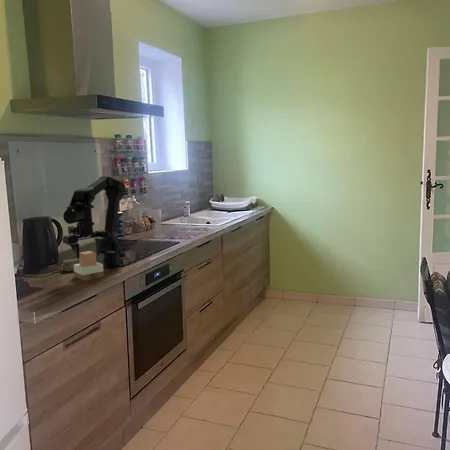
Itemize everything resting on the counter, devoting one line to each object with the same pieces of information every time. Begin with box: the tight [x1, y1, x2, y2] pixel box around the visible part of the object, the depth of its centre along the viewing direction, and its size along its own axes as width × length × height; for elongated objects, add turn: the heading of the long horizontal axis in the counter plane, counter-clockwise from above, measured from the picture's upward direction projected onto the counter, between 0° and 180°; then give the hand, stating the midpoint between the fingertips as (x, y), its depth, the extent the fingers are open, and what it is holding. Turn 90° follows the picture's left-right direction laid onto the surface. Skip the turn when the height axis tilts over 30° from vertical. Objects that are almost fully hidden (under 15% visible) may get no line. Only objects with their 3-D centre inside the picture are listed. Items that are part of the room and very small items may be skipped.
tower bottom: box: [73, 270, 105, 282], centre depth 195 cm, size 9×9×3 cm
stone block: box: [62, 258, 80, 272], centre depth 209 cm, size 6×12×5 cm, turn 122°
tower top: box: [73, 261, 104, 275], centre depth 195 cm, size 9×9×3 cm
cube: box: [79, 250, 97, 266], centre depth 194 cm, size 5×5×5 cm
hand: (88, 257), depth 194 cm, fingers open, 9 cm apart
